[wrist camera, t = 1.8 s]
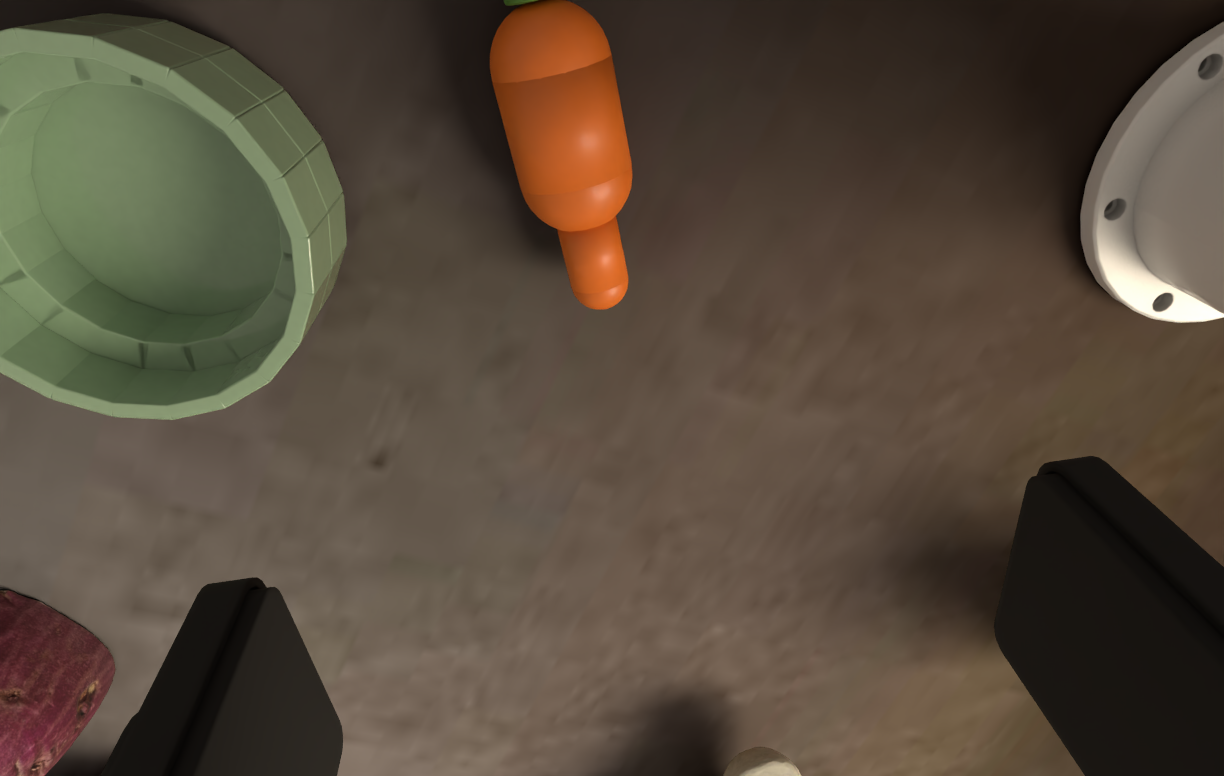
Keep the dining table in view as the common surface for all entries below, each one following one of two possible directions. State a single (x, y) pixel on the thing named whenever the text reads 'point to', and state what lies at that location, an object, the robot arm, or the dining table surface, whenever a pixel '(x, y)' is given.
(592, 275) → the carrot
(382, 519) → the dining table surface
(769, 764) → the oil lamp
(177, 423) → the dining table surface
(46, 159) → the bowl
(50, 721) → the vegetable
